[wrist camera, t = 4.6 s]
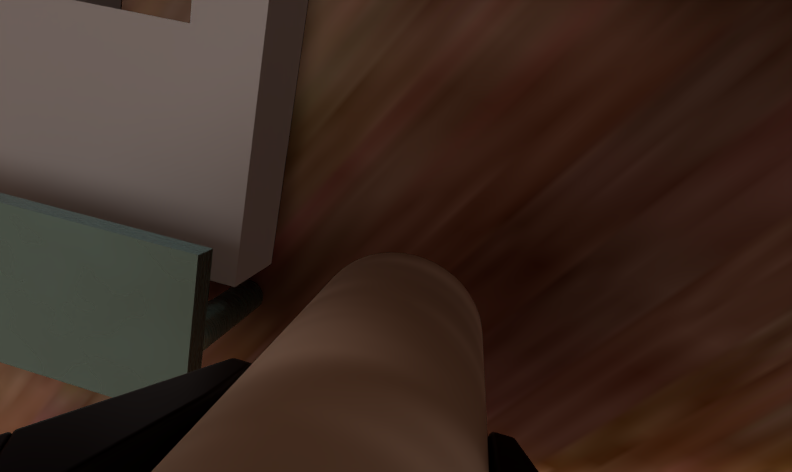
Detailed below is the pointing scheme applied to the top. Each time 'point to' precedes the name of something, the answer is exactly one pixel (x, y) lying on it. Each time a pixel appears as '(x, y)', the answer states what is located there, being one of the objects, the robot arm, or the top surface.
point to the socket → (154, 118)
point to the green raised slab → (106, 299)
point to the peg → (358, 383)
